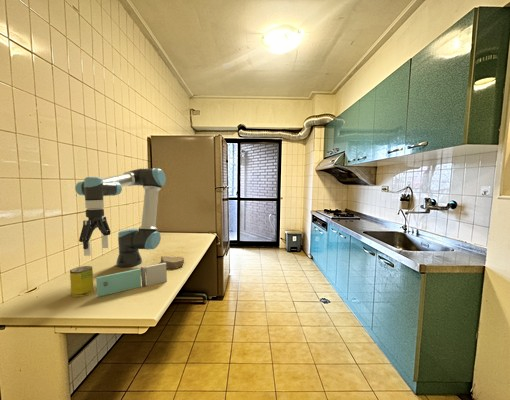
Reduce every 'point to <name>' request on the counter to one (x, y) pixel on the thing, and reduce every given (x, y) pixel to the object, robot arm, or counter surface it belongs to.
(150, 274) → the wall
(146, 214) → the robot arm
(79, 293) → the beverage can
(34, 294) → the counter surface
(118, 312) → the counter surface
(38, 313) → the counter surface
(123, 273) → the door
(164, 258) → the stone
